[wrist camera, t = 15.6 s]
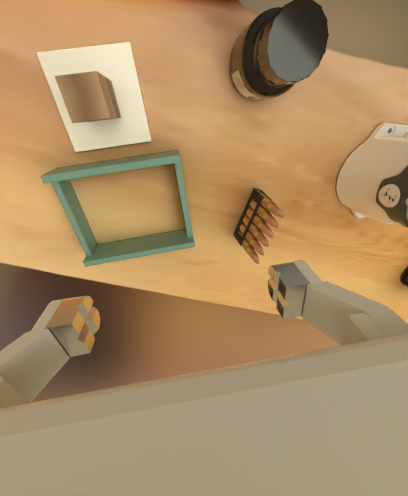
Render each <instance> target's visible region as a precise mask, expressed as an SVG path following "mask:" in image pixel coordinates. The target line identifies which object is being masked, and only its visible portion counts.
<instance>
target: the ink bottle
mask: <svg viewBox="0 0 408 496" xmlns="http://www.w3.org/2000/svg"><path fill="white" fill-rule="evenodd" d="M327 39H328V27H327V18H326V17H325V15H324V12H323V10H322V7H321V6H320V5H318V4H317V3H316V2H314V1H313V0H294V1H292V2H290V3H288V4H286V5H284V6H283V7H281V8H280V7H277V8H272V9H269V10H267V11H265V12H263V13H262V14H260V15H259V16H258V17H257V18H256V19H255V20H254V21H253V22H252V23H251V24H250V25H249V26H248V27H247V28H246V29H245V30H244V31H243V33H242V34H241V35H240V36H239V38H238V39H237V41H236V43H235V45H234V48H233V51H232V55H231V60H230V73H231V78H232V82H233V84H234V86H235V88H236V90H237V91H238V92H239V93H240V94H241V95H242V96H244V97H246V98H248V99H252V100H261V99H267V98H272V97H276V96H279V95H282V94H284V93H285V92H287V91H288V90H289V89H291V88H292V87H293V86H294V84H295V83H297V82H299V81H301V80H303V79H305V78H307V77H309V76H310V74H311V73H312V72H313V71H314V70H315V69H316V68H317V67H318V66H319V63H320V61H321V59H322V57H323V55H324V53H325V51H326V44H327Z"/></svg>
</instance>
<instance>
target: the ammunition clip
mask: <svg viewBox="0 0 408 496" xmlns="http://www.w3.org/2000/svg"><path fill="white" fill-rule="evenodd" d="M269 211H270V212H272V213H273V214H275V215H276V216H278V217H281V218H283V217H284V214H283V212H282V211H281V210H280V209H279V208H278V207H277V205H276V204H275V203H274V202H273V201H272V200H271V199H270V198H269V197H268V196H267V195H266V194H265V193H264V192H263V191H262V190H259V189H255V188H254V189H253V191H252V193H251V196H250V198H249V200H248V203H247V205H246V207H245V209H244V212H243V214H242V216H241V219H240V221H239V223H238V225H237V228H236V230H235V232H234V236H235V238H236V239H237V241H238V242H239V244H240V245H241V246H243V248H244V249H245V251H246V252H247V253H248V254H249V256H250V257H251V258H252V259H253V261H254V262H256V263H257V264H259V258H258V255H257V254H256V252H255V250H256V251H257V252H258V253H259V254H260V255H264V251H263V249H262V247H261V245H260V243H259V241H260V242H261V243H262V244H263V245H264V246H266V247H268V246H269V244H268V241H267V239H266V238H265V236H264V235H263V232H264V233H265V234H266V235H267V236H269V237H272V238H273V233H272V231H271V229H270V228H269V227H268V225H267V223H269V224H270V225H271V226H273V227H275V228H278V227H279V226H278V223H277V221H276V220H275V219H274V218H273V216H272V215H271V213H270V212H269ZM264 220H265V221H266V222H267V223H266V222H265V221H264ZM261 230H262V231H263V232H262V231H261ZM258 240H259V241H258Z"/></svg>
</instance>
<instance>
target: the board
mask: <svg viewBox="0 0 408 496" xmlns="http://www.w3.org/2000/svg"><path fill="white" fill-rule="evenodd" d="M36 53H37V56H38V58H39V61H40V63H41V66H42V68H43V71H44V74H45V76H46V79H47V81H48V84H49V86H50V89H51V91H52V94H53V96H54V99H55V102H56V104H57V107H58V109H59V112H60V114H61V117H62V119H63V122H64V125H65V127H66V130H67V132H68V135H69V137H70V140H71V142H72V145H73V147H74V150H75V152H79V151H86V150H93V149H100V148H107V147H114V146H121V145H128V144H134V143H141V142H148V141H152V139H151V135H150V130H149V126H148V121H147V116H146V112H145V107H144V103H143V98H142V94H141V89H140V84H139V80H138V75H137V71H136V66H135V61H134V57H133V52H132V48H131V44H130V42H124V43H116V44H107V45H98V46H89V47H80V48H71V49H62V50H54V51H45V52H36ZM92 71H97V72H99V73H100V74H102V75H103V76H105V77H106V78H108V79H109V80H111V81H112V85H113V89H114V92H115V96H116V100H117V104H118V107H119V111H120V115H121V118H116V119H108V120H101V121H94V122H83V123H72V121H71V119H70V116H69V113H68V111H67V108H66V105H65V103H64V100H63V97H62V95H61V92H60V89H59V87H58V84H57V81H56V79H55V76H59V75H67V74H75V73H84V72H92Z"/></svg>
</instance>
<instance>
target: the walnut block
mask: <svg viewBox="0 0 408 496" xmlns="http://www.w3.org/2000/svg"><path fill="white" fill-rule="evenodd" d="M55 79H56V81H57V84H58V87H59V89H60V92H61V95H62V97H63V100H64V103H65V105H66V108H67V111H68V113H69V116H70V119H71V121H72V123H83V122H94V121H101V120H108V119H116V118H121V115H120V111H119V107H118V104H117V100H116V96H115V92H114V89H113V85H112V81H111V80H109V79H108V78H106V77H105V76H103V75H102V74H100V73H99V72H97V71H92V72H84V73H75V74H67V75H59V76H55Z"/></svg>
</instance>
